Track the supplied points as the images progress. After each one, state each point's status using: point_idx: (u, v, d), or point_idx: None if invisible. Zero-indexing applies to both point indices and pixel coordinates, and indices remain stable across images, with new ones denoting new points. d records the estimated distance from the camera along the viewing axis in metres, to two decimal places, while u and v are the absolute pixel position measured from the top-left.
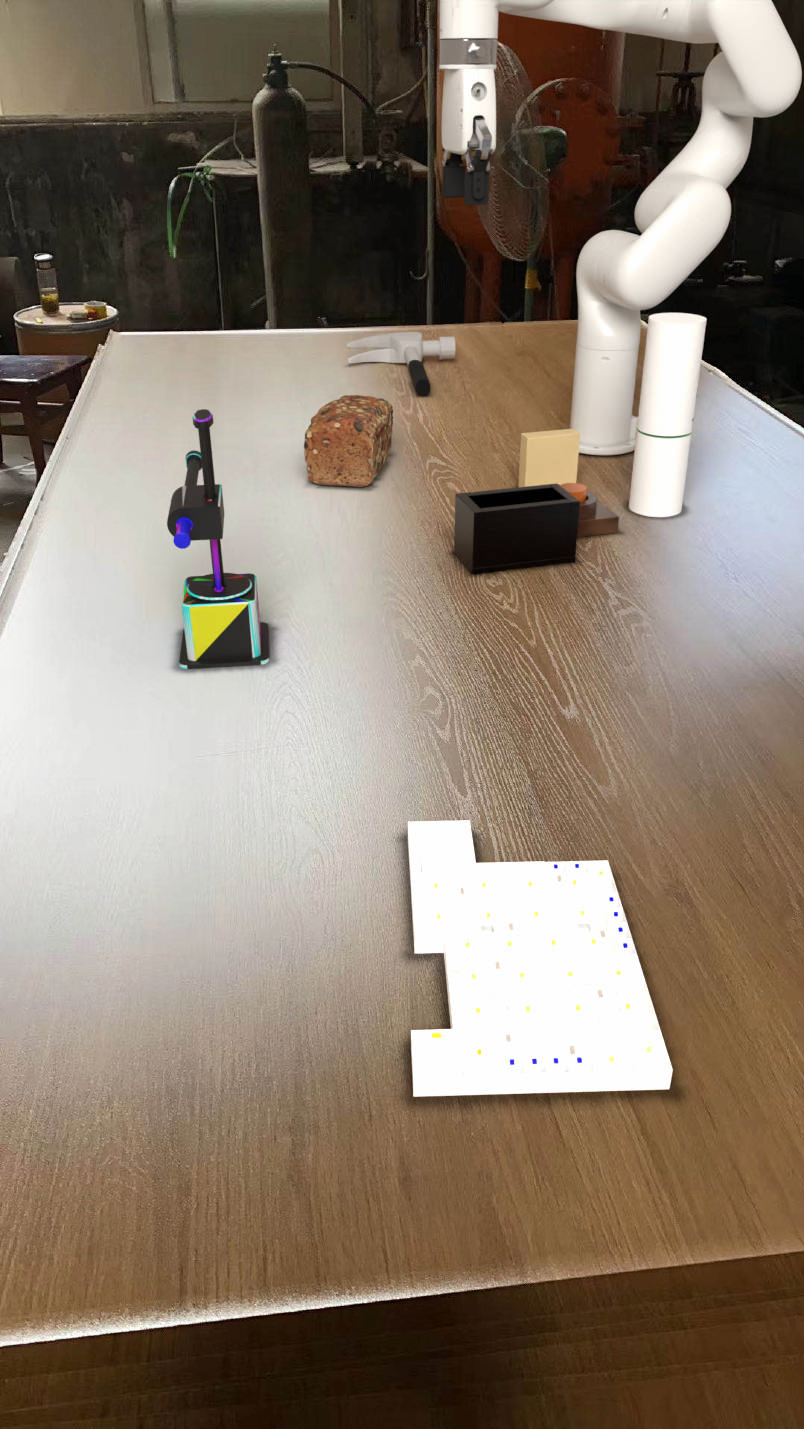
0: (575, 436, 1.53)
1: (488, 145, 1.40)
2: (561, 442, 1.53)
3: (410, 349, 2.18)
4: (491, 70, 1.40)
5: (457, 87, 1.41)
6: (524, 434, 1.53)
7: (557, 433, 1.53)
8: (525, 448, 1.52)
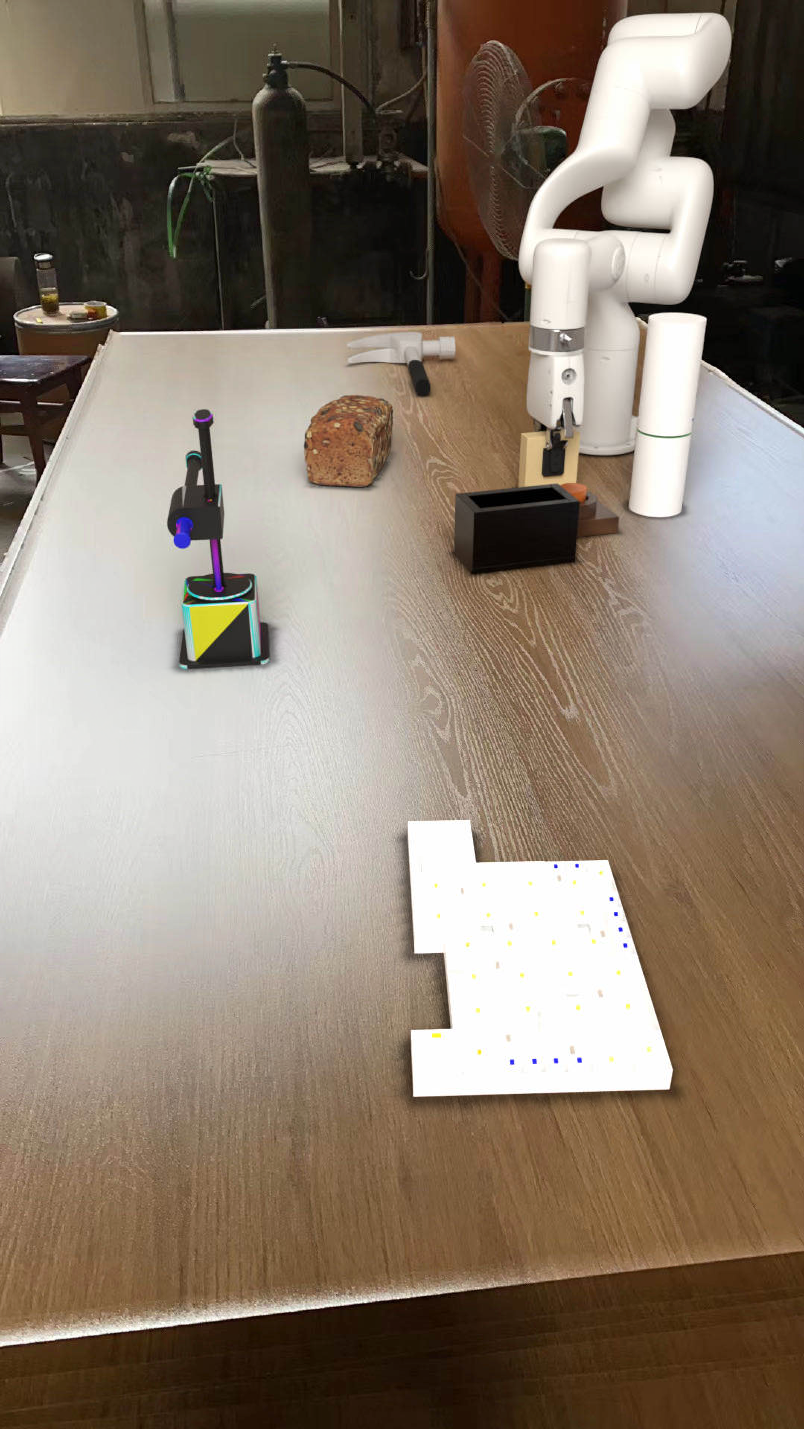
0: (575, 436, 1.53)
1: (568, 439, 1.48)
2: None
3: (410, 349, 2.18)
4: (581, 356, 1.44)
5: (547, 371, 1.45)
6: (524, 434, 1.53)
7: None
8: (525, 448, 1.52)
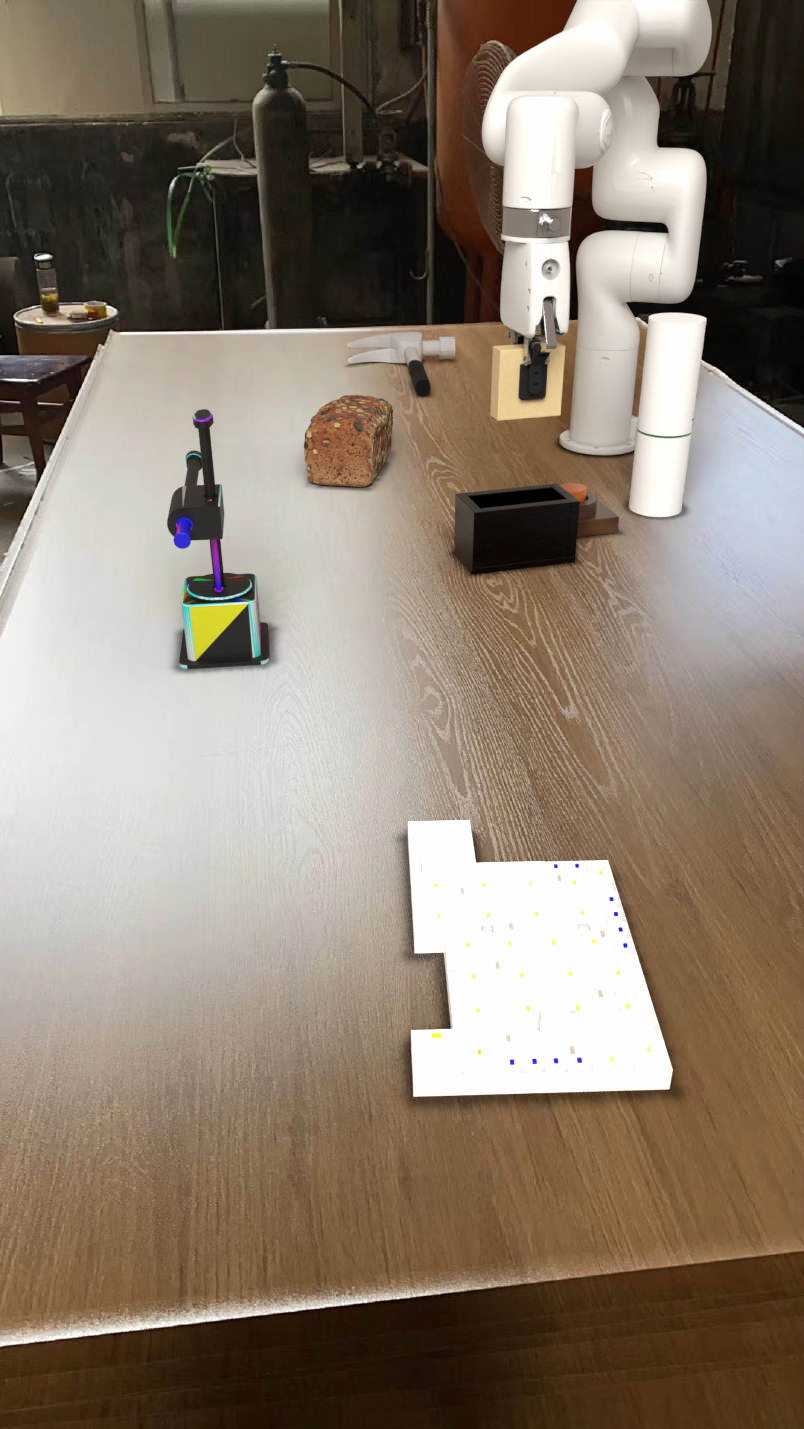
0: (559, 350, 1.25)
1: (551, 350, 1.20)
2: None
3: (410, 349, 2.18)
4: (565, 244, 1.16)
5: (524, 263, 1.17)
6: (497, 347, 1.24)
7: None
8: (498, 363, 1.24)
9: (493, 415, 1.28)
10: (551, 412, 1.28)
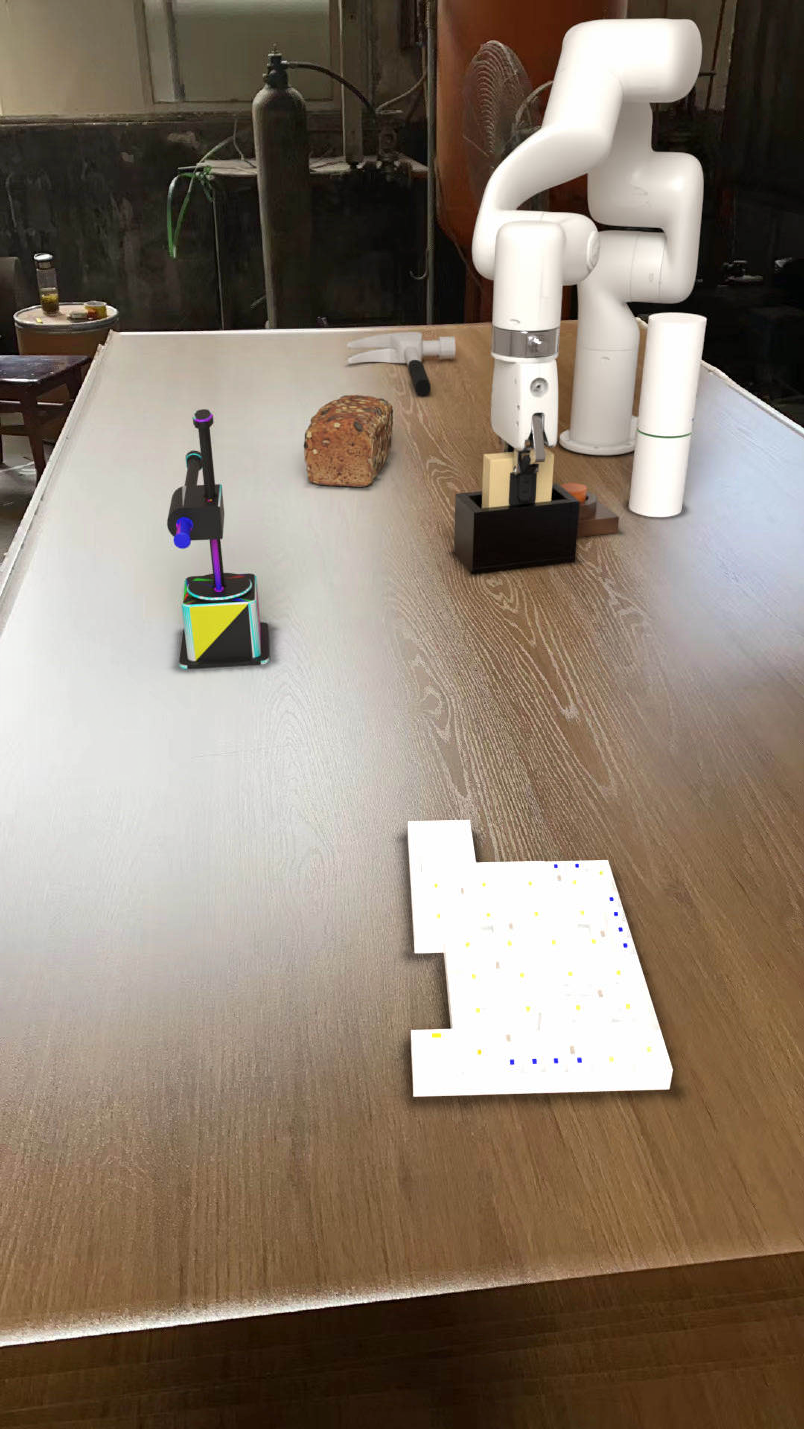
0: (548, 458, 1.28)
1: (539, 463, 1.23)
2: None
3: (410, 349, 2.18)
4: (553, 363, 1.19)
5: (513, 381, 1.20)
6: (487, 456, 1.28)
7: None
8: (488, 472, 1.27)
9: None
10: None
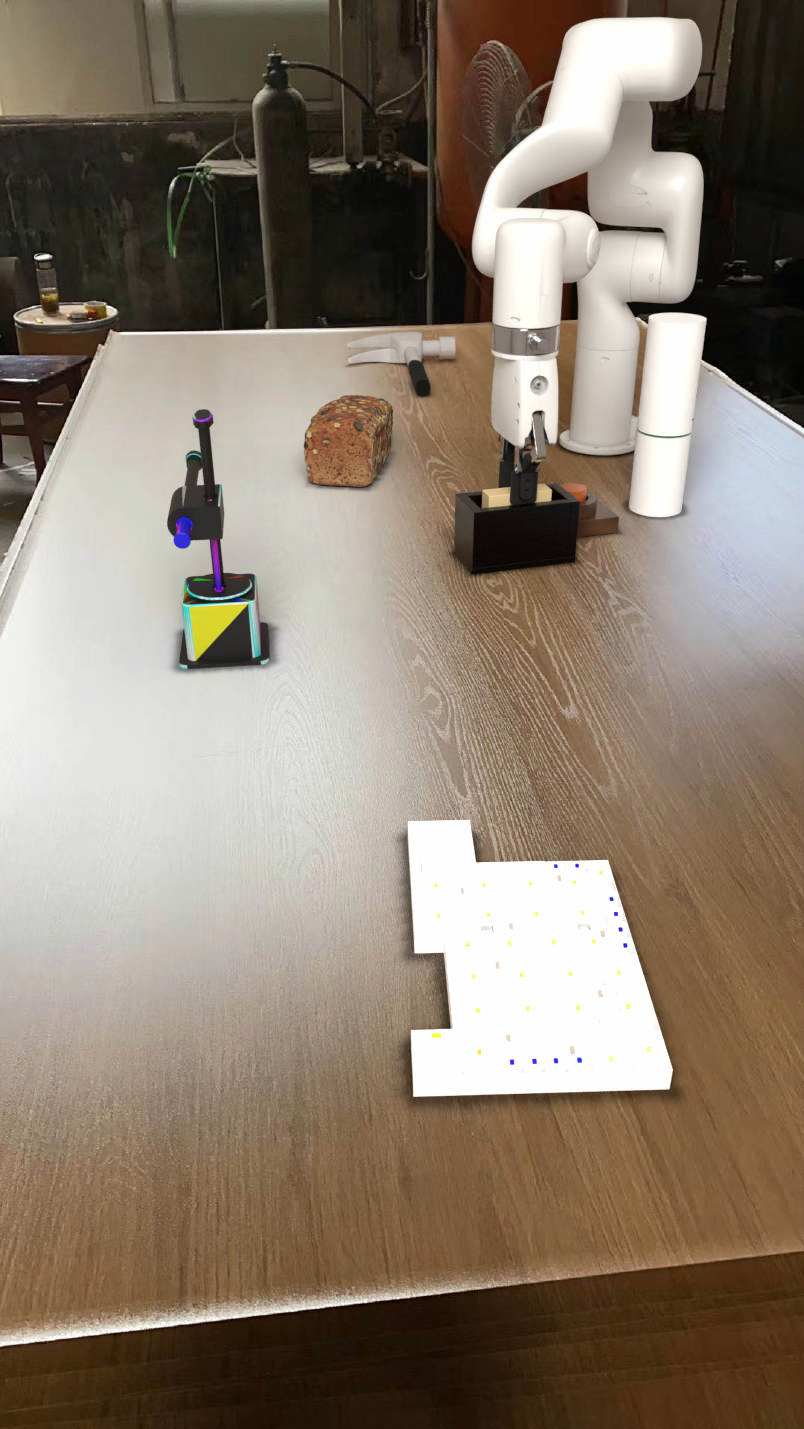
0: (546, 493, 1.30)
1: (541, 460, 1.23)
2: None
3: (410, 349, 2.18)
4: (554, 361, 1.19)
5: (513, 378, 1.20)
6: (486, 491, 1.30)
7: None
8: (487, 507, 1.30)
9: None
10: None
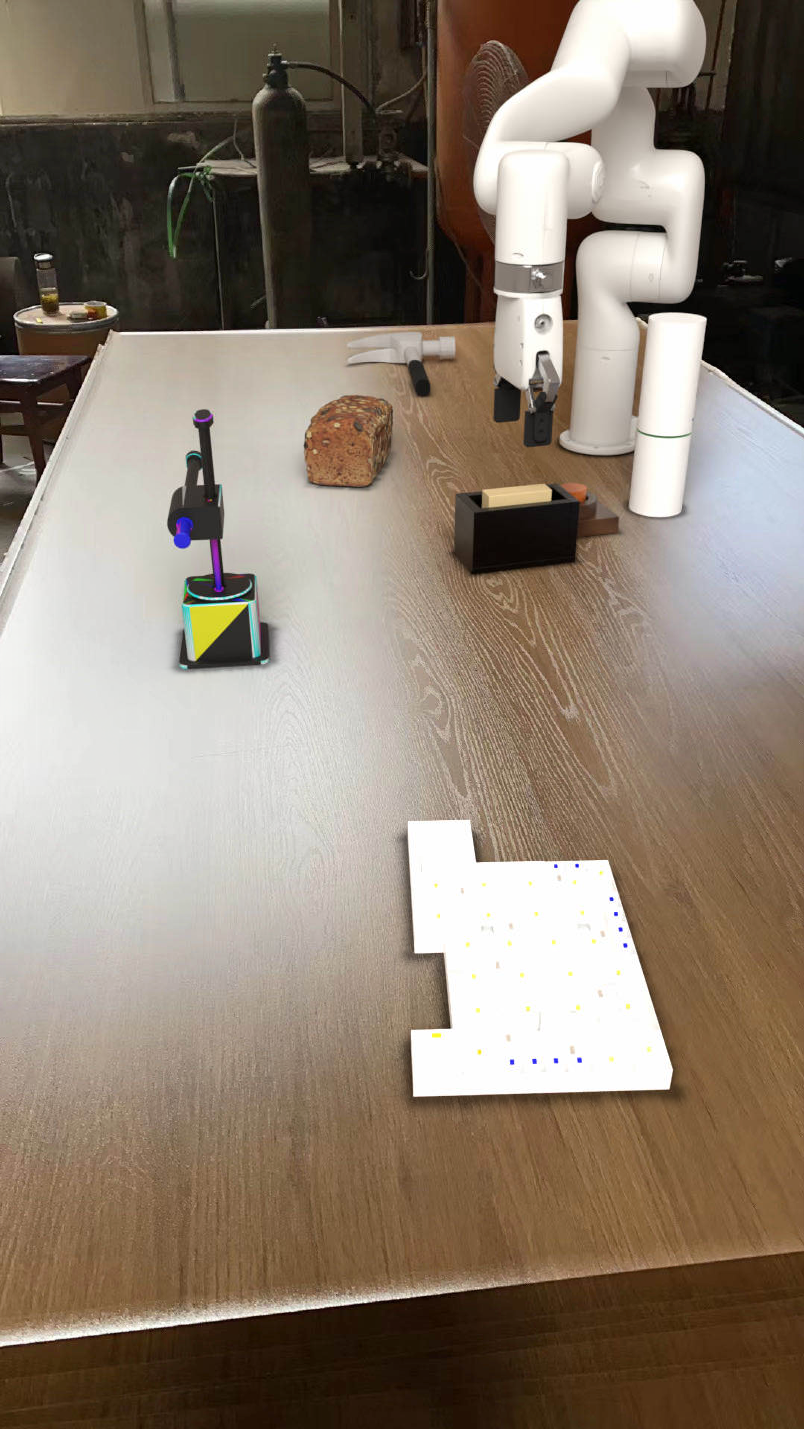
0: (546, 493, 1.30)
1: (555, 389, 1.17)
2: (529, 500, 1.30)
3: (410, 349, 2.18)
4: (558, 299, 1.16)
5: (517, 317, 1.17)
6: (486, 491, 1.30)
7: (524, 490, 1.30)
8: (487, 507, 1.30)
9: None
10: None
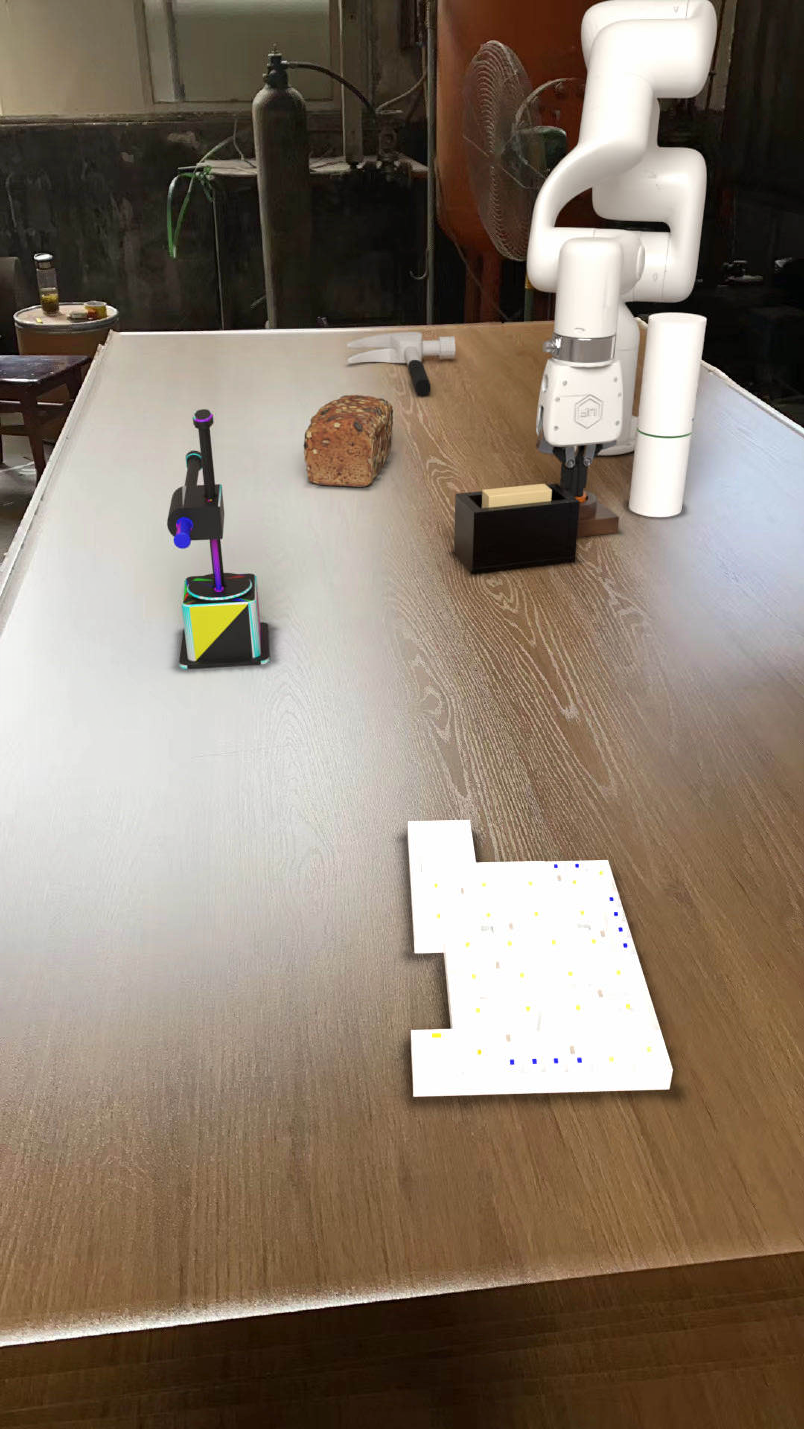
0: (546, 493, 1.30)
1: (545, 453, 1.37)
2: (529, 500, 1.30)
3: (410, 349, 2.18)
4: (557, 367, 1.31)
5: None
6: (486, 491, 1.30)
7: (524, 490, 1.30)
8: (487, 507, 1.30)
9: None
10: None
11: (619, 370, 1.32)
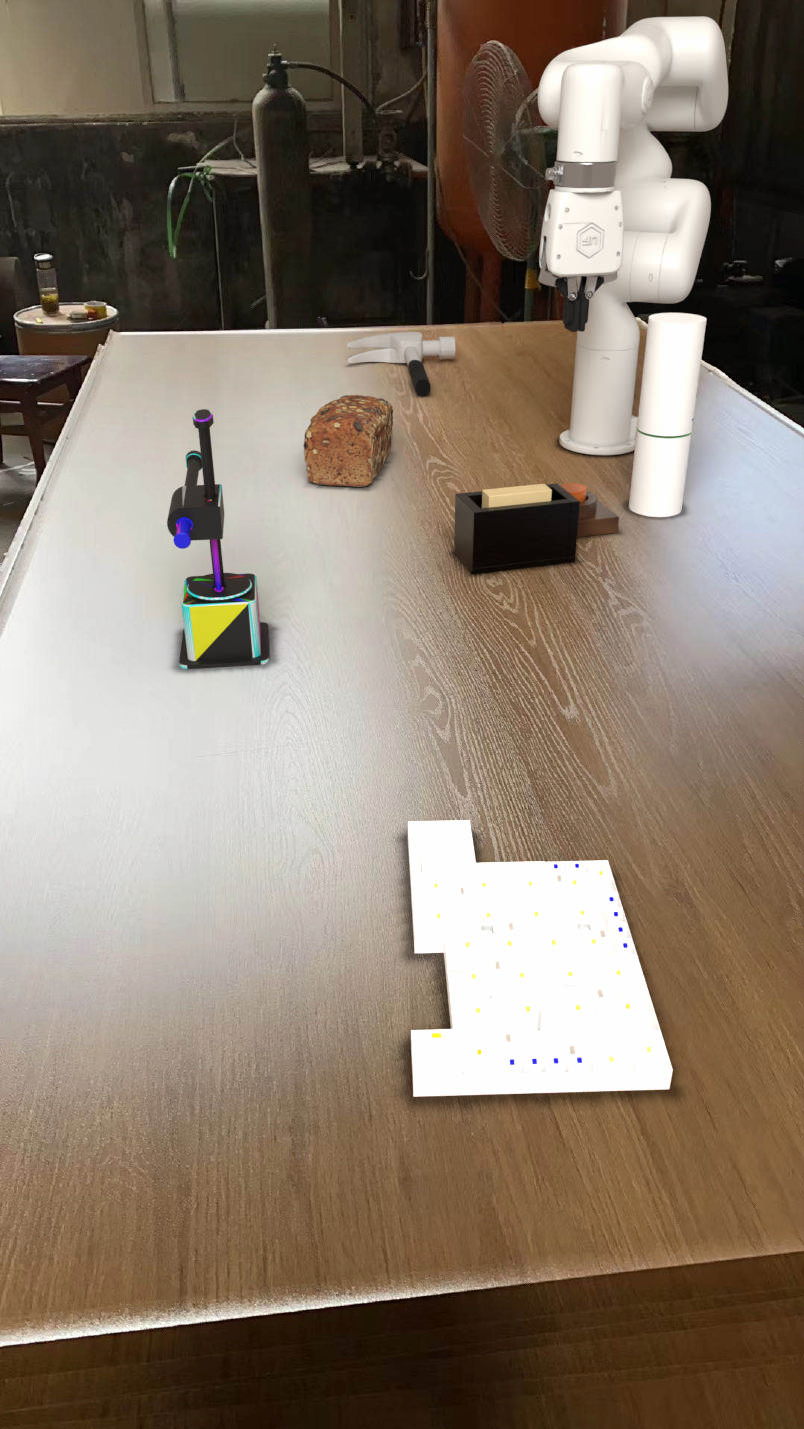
0: (546, 493, 1.30)
1: None
2: (529, 500, 1.30)
3: (410, 349, 2.18)
4: (559, 193, 1.34)
5: None
6: (486, 491, 1.30)
7: (524, 490, 1.30)
8: (487, 507, 1.30)
9: None
10: None
11: (620, 199, 1.36)
